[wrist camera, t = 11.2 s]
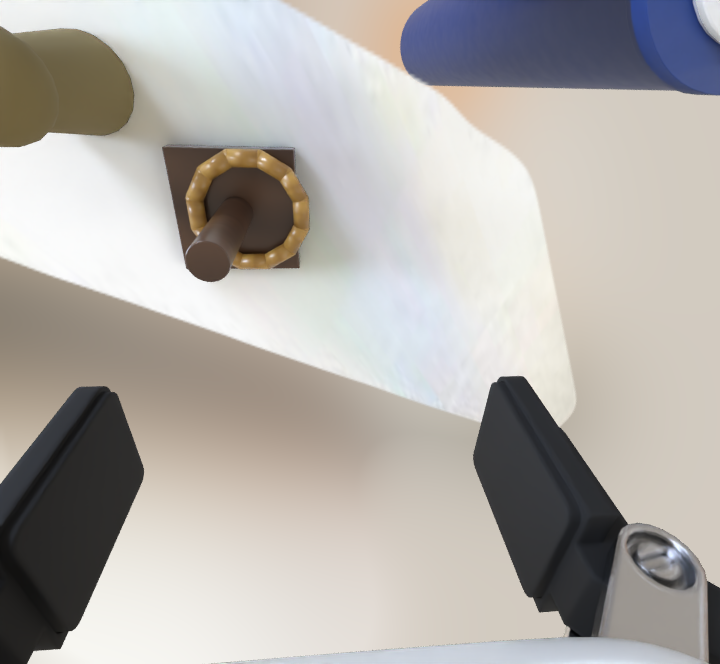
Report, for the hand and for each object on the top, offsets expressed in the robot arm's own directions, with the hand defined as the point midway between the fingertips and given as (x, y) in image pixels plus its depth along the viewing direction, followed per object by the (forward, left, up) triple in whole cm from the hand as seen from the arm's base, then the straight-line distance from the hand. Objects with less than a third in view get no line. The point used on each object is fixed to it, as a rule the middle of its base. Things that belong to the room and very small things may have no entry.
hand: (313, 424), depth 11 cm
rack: (+1, -6, -25) cm, 26 cm away
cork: (-7, -15, -25) cm, 30 cm away
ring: (+1, -5, -23) cm, 24 cm away
